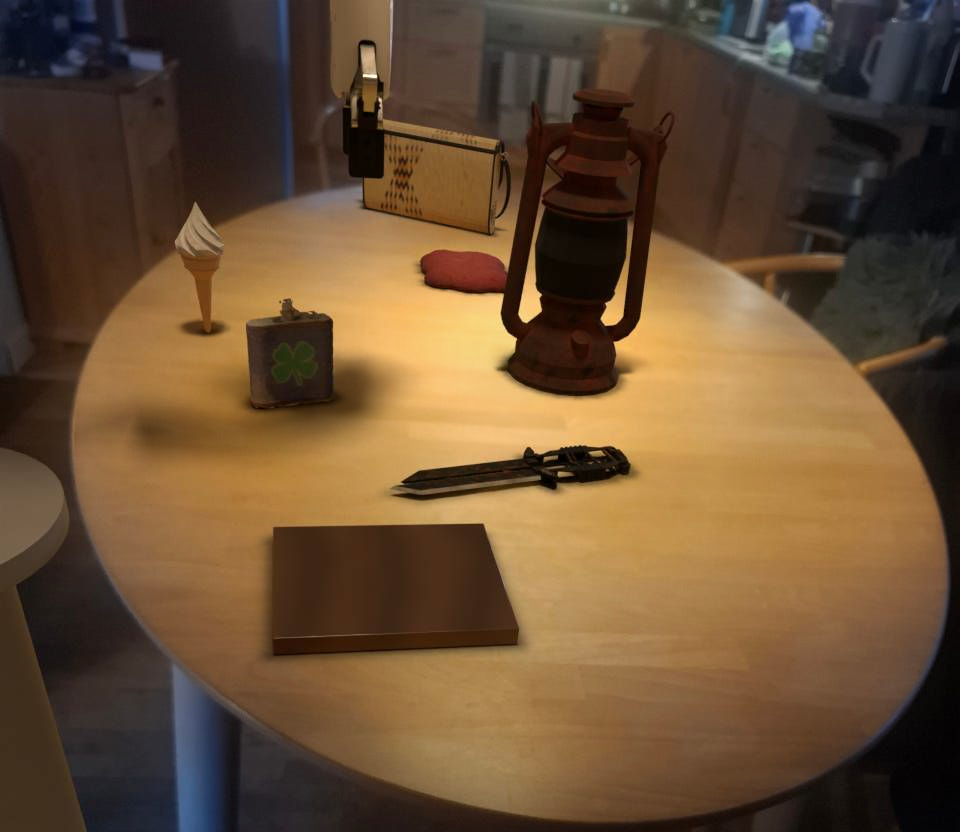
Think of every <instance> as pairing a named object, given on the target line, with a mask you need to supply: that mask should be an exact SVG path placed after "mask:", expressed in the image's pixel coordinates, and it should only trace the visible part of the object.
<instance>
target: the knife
mask: <svg viewBox="0 0 960 832" xmlns="http://www.w3.org/2000/svg"><path fill="white" fill-rule="evenodd" d="M600 451H601V453H602V454H604V455H599V456H595V455H592V454H591V453H592V452H600ZM549 457H557V458H554V459H547V460H545V458H549ZM590 462H591V463H590ZM560 465H563V466H562V467H556V468H555V467H554V468H548V467H551V466H552V467H553V466H560ZM630 471H631V463H630V462H629V460H628V457H627V456H626V454H625V453H624V452H623V451H622V450H621V449H619V448H616V447H615V446H612V445H606V446H600V447H599V446H587V445H586V444H585V445H581V444H579V445H573V446H572V445H569V446H564V447H563V446H561V447H560V448H558V449H552V450H548V451H546V452H544V453H538V452H537V453H536V452H535V450H533V449H532V448H531V446H527V447H526V448H525V450H524V452H523V457H522V458H514V459H505V460H496V461H488V462H479V463H473V464H464V465H455V466H446V467H437V468H427V469H419V470H417V471H415V472H414V473H412V474H410V475H409V476H407V477H406V478H404V479H403V480H401V481H400V484H396V485H393V486H392V487H390V488H389V490H391V491H399V492H403V493H409V494H414V495H421V496H425V495H432V494H438V493H439V494H440V493H447V492H454V491H455V492H457V491H462V490H463V491H464V490H470V489H478V488H480V489H481V488H486V487H494V486H502V485H509V484H519V483H526V482H533V481H537V482H538V483H539V485H540V486H543V487H546V488H549V489H552V490H556V489H557V488H558V484H557V483H556V482H560V483H561V482H563V483H571V482H580V483H581V484H582V483H585V482H586V483H589V482H594V481H596V482H597V481H602V480H605V479H610V478H611V477H613V476H616V475H617V474H625V473H627V474H628V473H629V472H630ZM559 472H560V473H573V474H574V475H565V476H558V474H559Z"/></svg>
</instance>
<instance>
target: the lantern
mask: <svg viewBox="0 0 960 832" xmlns="http://www.w3.org/2000/svg"><path fill="white" fill-rule="evenodd" d="M572 100H573V101H575V102H578V103H581V106H582V111H579V112H574V113H572V116H571V117H572V118H571V122H570V121H567V122H565V121H564V122H544V118H543V117H542V114H541V109H540V107H539V104H538V102H537V101H536V99H535V100H532V101H531V104H530V109H531V110H530V111H531V118H532V122H531V124H530V128H529V130H528V131H527V133H526V134H525V142H526V149H527V151H526V152H527V159H526V165H525V170H524V177H523V183H522V188H521V194H520V199H519V204H518V209H517V212H518V213H517V217H516V222H515V229H514V234H513V240H512V244H511V245H512V246H511V250H510V251H511V252H510V258H509V263H508V267H507V279H506V285H505V290H504V292H503V297H502V302H501V308H500V318H501V322H502V325H503V327H504V329H505V330H506V332H507V334H509V335H510V336H512V337H513V338H515V339H516V341H515V346H514V352H513V353H512V354H511V356H510V357H509V358H508V359H507V369H508V370H507V371H508V373H509V374H510V376H512V377H513V379H514V380H516V381H518V382H519V383H521V384H522V385H525V386H527V387H530V388H532V389H535V390H538V391H541V392H546V393H551V394H556V395H561V396H563V395H564V396H575V397H577V396H593V395H597V394H602V393H605V392H608V391H610V390H612V389H613V388H614V387H615V386H616V385H617V382H618V380H619V372H618V369H617V367H616V366H615V365H616V360H617V349H616V345H615V342H616V343H617V342H620V341H621V340H623V339H626V338H627V337H629V336H630V334H631V333H633V332H634V330H635V329H636V327H637V325H638V324H639V322H640V319H641V317H642V316H641V315H642V308H643V300H644V292H645V285H646V277H647V270H648V261H649V252H650V246H651V238H652V230H653V223H654V215H655V207H656V199H657V191H658V182H659V175H660V169H661V167H660V166H661V164H662V162H663V159H664V157H665V154H666V152H667V150H668V148H669V147H668V142H667V139H668V137H669V136H670V134H671V131H672V129H673V127H674V124H675V120H676V115H675V114H676V113H675V112H674V111H673V110H668V111H667V112H666V113H665V114H664V115H663V116H662V118H661V119H660V121H659V123H658V124H657V125H656V126H655V127H654V128H653V130H650V129H644V128H639V127H634V126H629V124H630V120H629V119H628V118H626V117H622V116H621V115H622V113H623V111H624V109H629V108H634V107H635V104H636V100H635V99H634V98H632V97H631V96H630V95H628V94H627V93H625V92H621V91H618V90H613V89H612V90H611V89H605V88H593V87H592V88H590V87H587V88H582V89H580V90H578V91H576V92H574V93H572ZM669 116H670V117H671V118H670V122H669V126H668V129H667V131H666V133H664V129H663V124H664V122H665V121H666V119H667V118H668V117H669ZM564 146H565V149H564V151H563V152H562V153H561V154H560V156H558V158H556V159H554V158H552V157H550V156H551V155H552V154H553V153H554V152H555V151H556V150H558V149H560V148H562V147H564ZM628 151H630V152H631V153H633V154H632V155H631V156H630V157H628V158H627V153H628ZM638 161H639V162H640V168H639V174H638V175H639V176H638V186H637V193H636V201H635V202H636V203H635V204H634V203H633V201H632V200H631V198H630V197H629V195H628V194H627V193H626V192H625V191H624V189H622V187H620V186H619V185H618V179H619V177H620V178H621V177H627V176H631V175H633V173H634V172H633V169H632V167H631V166H633V165H634V164H635V163H637V162H638ZM547 166H548V168H549V169H551V171H552V172H554V174H556V175H557V176H558V177H559V179H560V181H558V182H556V183H555V184H553V185H552V186H550V187H549V188H547V190H546V191H544V192H543V193H542V190H543V185H544V180H545V175H546V169H547ZM541 197H542V199H541ZM540 202H541V205H542V206H544V210H543V213H542V216H541V219H540V223H539V226H538V230H537V235H536V239H535V243H534V271H535V273H534V274H535V283H534V285H535V289H536V291H537V292H538V293H539V294H540V296H539V303H540V308H541V311H540V312H539V313H537V314H536V315H535V316H534V317H533V318H531V319H529V320H528V322H526V321H523V320H522V318H521V317H520V315H519V313H520V309H521V308H520V307H521V304H522V303H521V301H522V297H523V292H524V286H525V281H526V276H527V271H528V266H529V259H530V255H531V251H532V250H531V249H532V245H533V239H534V234H535V228H536V223H537V218H538V217H537V216H538V212H539V206H540ZM634 209H635V211H634ZM633 215H634V219H633V227H632V237H631V245H630V251H629V252H630V254H629V261H628V270H627V278H626V286H625V287H626V288H625V294H624V295H625V296H624V305H623V306H624V307H623V312H622V313H623V314H622V317H621V319H619V321H618V322H617V323H615V324H611V325H610V324H609V325H606V324H605V323H604V322H603V320H602V317H603V315H604V313H605V312H606V310H607V307H608V306H607V303H609V302H611V301H612V300H613V298H614V296H615V295H616V289H617V286H618V283H619V280H620V278H621V275H622V271H623V269H624V266H625V262H626V259H627V250H628V234H629V233H628V232H629V231H628V230H629V229H628V221H629V219H628V218H630V217H632V216H633Z"/></svg>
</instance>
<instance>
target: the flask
mask: <svg viewBox="0 0 960 832" xmlns="http://www.w3.org/2000/svg"><path fill="white" fill-rule="evenodd" d="M293 302H294V300H292V298H291V297H290V298H289V297H288V298H283V299H282V300H278V303H279V304H281V310H279V313H280V315H276V316H268V317H262V318H261V317H259V318H253V319H249V320H248V321H246V322H245V332H246V333H245V334H246V343H247V345H246V346H247V347H246V348H247V358H248V360H247V361H248V374H249V375H248V376H249V386H250V387H249V389H250V390H249V391H250V402H251V405H252V406H253V407H254V408H255V409H259V408H263V409H275V407H277V408H278V407H293V406H297V405H299V404H310V403H320V402H329V401H331V400H333V399H334V390H335V389H334V385H335V384H334V368H335V366H334V320H333V318H332V317H331V316H330V315H328V314H326V313H324V312H321V313H320V312H319V313H318V312H316V311H315V310H308V311H300V310H298V309H296V308H295V307H294V306H293Z"/></svg>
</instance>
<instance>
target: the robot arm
mask: <svg viewBox="0 0 960 832" xmlns="http://www.w3.org/2000/svg"><path fill="white" fill-rule="evenodd" d="M393 30H394V0H329V35H330V36H329V40H330V41H329V43H330V45H329V46H330V49H329V50H330V86H331V90H332V93H333V94H334V95H335V97H336V98H338V99H342V98H343V97H342V96H343V93H344V107H342V152H343V153H344V154H345V155H347V156H348V157H347V159H348V160H347V165H348V166H347V167H348V169H347V171H348V175H349V176H350V177H351V178H357V179H362V178H374V179H381V178H383V176H384V145H385V129H383V119H384V110H383V109H384V108H383V102H384V101H385V100H387V98H389V95H390V86H391V71H392V56H393V55H392V54H393V53H392V52H393V35H394V34H393V33H394V32H393Z"/></svg>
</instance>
